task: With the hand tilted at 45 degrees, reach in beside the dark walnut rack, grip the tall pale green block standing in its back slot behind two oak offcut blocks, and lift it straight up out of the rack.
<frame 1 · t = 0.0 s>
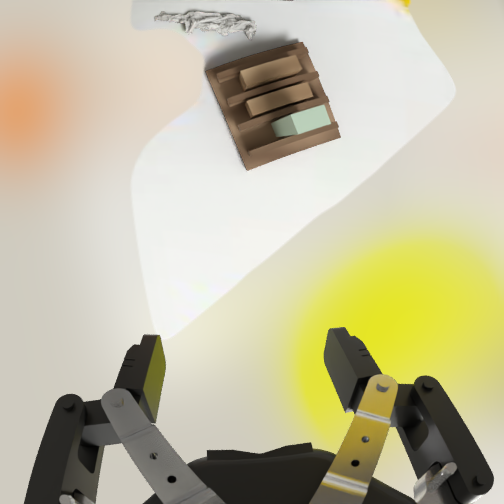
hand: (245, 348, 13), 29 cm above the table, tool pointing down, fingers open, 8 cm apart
offcut a: (275, 101, 35), point 1 cm above the table, touching rack
white statue: (203, 25, 31), on the table
rack: (274, 102, 35), on the table
pale green block: (285, 126, 36), point 1 cm above the table, touching rack
offcut b: (266, 78, 33), point 1 cm above the table, touching rack
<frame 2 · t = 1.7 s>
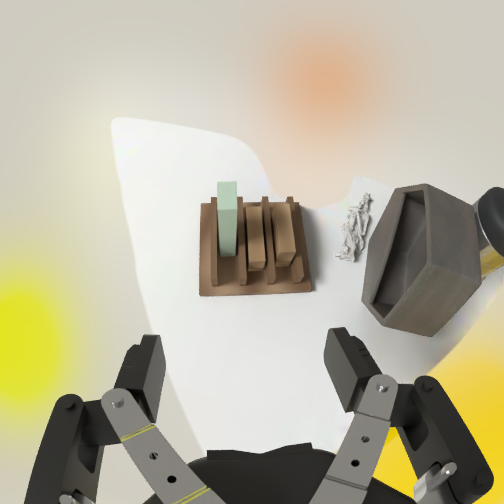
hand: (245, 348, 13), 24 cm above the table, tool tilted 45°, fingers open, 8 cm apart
offcut a: (253, 244, 41), point 1 cm above the table, touching rack
white statue: (354, 225, 45), on the table
rack: (252, 247, 42), on the table
pale green block: (227, 244, 41), point 1 cm above the table, touching rack
planter: (385, 280, 41), on the table
offcut b: (278, 243, 41), point 1 cm above the table, touching rack
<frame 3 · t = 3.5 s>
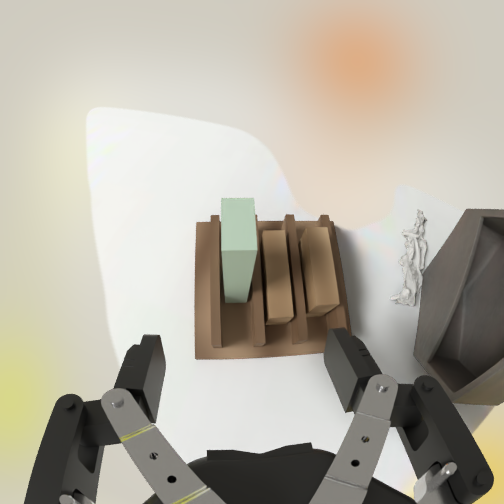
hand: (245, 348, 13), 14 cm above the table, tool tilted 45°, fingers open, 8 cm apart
offcut a: (272, 284, 28), point 1 cm above the table, touching rack
white statue: (408, 254, 32), on the table
rack: (271, 287, 29), on the table
pale green block: (235, 285, 28), point 1 cm above the table, touching rack
planter: (440, 325, 29), on the table
offcut b: (308, 282, 28), point 1 cm above the table, touching rack
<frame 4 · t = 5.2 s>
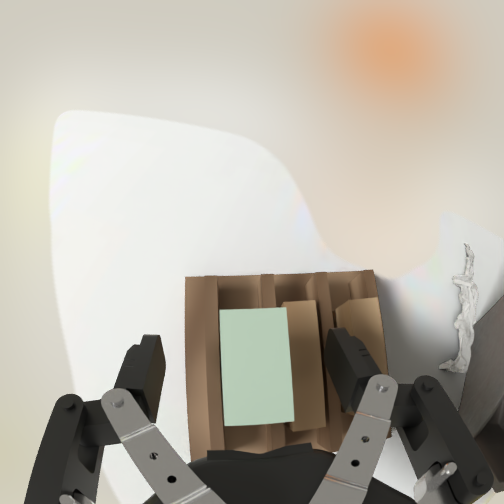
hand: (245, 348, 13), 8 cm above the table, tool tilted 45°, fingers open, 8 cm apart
offcut a: (293, 367, 19), point 1 cm above the table, touching rack
white statue: (456, 304, 23), on the table
rack: (290, 367, 20), on the table
pale green block: (241, 370, 19), point 1 cm above the table, touching rack
planter: (484, 386, 20), on the table, touching arm
offcut b: (341, 361, 19), point 1 cm above the table, touching rack
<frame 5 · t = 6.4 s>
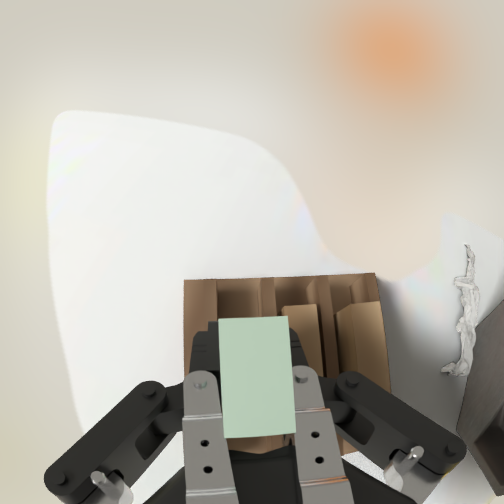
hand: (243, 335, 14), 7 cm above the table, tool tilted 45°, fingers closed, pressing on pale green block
offcut a: (293, 371, 19), point 1 cm above the table, touching rack
white statue: (457, 306, 23), on the table
rack: (290, 371, 20), on the table
pale green block: (241, 375, 18), point 1 cm above the table, touching gripper, rack
planter: (486, 389, 19), on the table, touching arm
offcut b: (342, 365, 19), point 1 cm above the table, touching rack
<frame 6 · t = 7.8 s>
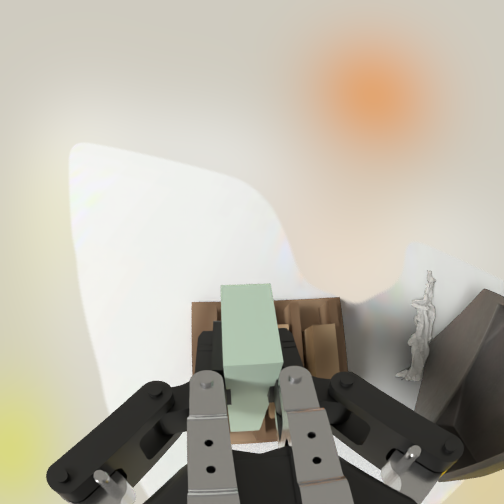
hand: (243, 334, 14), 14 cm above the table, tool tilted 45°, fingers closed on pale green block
white statue: (415, 323, 30), on the table
rack: (271, 372, 26), on the table
pale green block: (243, 408, 19), point 7 cm above the table, tilted 23°, touching gripper
planter: (440, 393, 26), on the table
offcut b: (310, 368, 26), point 1 cm above the table, touching rack
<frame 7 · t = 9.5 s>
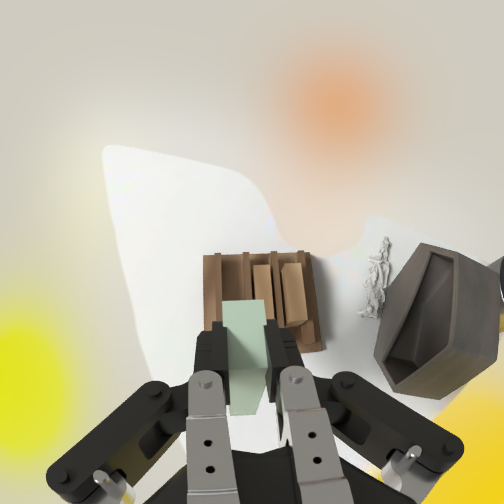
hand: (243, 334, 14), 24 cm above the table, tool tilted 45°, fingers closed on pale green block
offcut a: (261, 303, 38), point 1 cm above the table, touching rack
white statue: (374, 275, 42), on the table
rack: (260, 304, 39), on the table
pale green block: (241, 395, 22), point 14 cm above the table, tilted 18°, touching gripper
planter: (399, 332, 38), on the table, touching arm
offcut b: (288, 301, 38), point 1 cm above the table, touching rack
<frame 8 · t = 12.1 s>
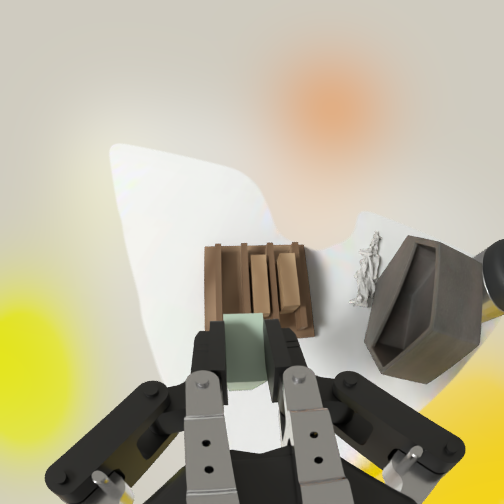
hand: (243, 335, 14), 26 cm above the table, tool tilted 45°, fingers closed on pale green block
offcut a: (257, 290, 41), point 1 cm above the table, touching rack
white statue: (365, 267, 45), on the table, touching planter
rack: (257, 292, 42), on the table
pale green block: (239, 371, 24), point 14 cm above the table, tilted 6°, touching gripper
planter: (389, 321, 41), on the table, touching white statue
offcut b: (283, 289, 41), point 1 cm above the table, touching rack
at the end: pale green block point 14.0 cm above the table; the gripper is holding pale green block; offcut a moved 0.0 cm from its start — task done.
